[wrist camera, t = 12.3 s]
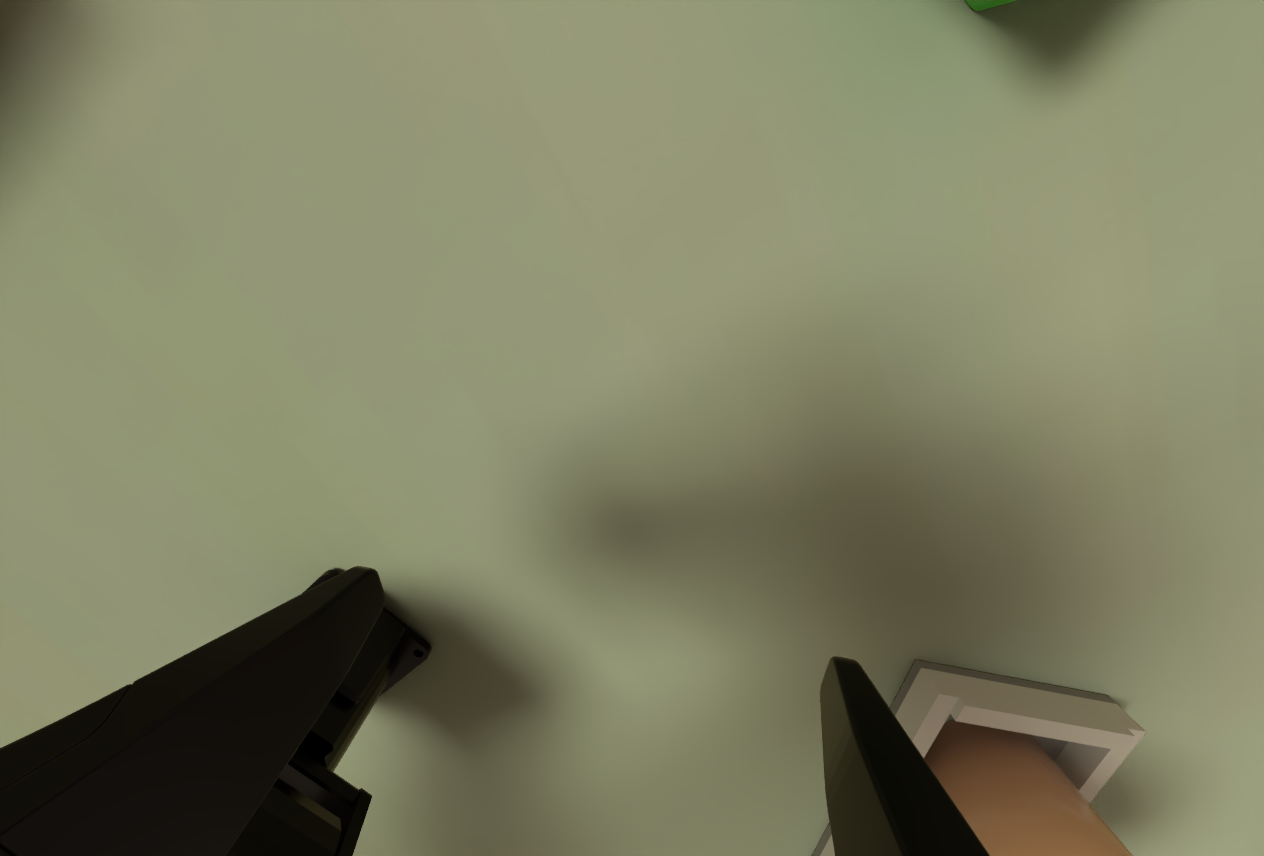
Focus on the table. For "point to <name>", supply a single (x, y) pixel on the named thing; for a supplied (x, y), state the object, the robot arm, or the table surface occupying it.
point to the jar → (1016, 795)
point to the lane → (1017, 721)
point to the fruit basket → (986, 3)
